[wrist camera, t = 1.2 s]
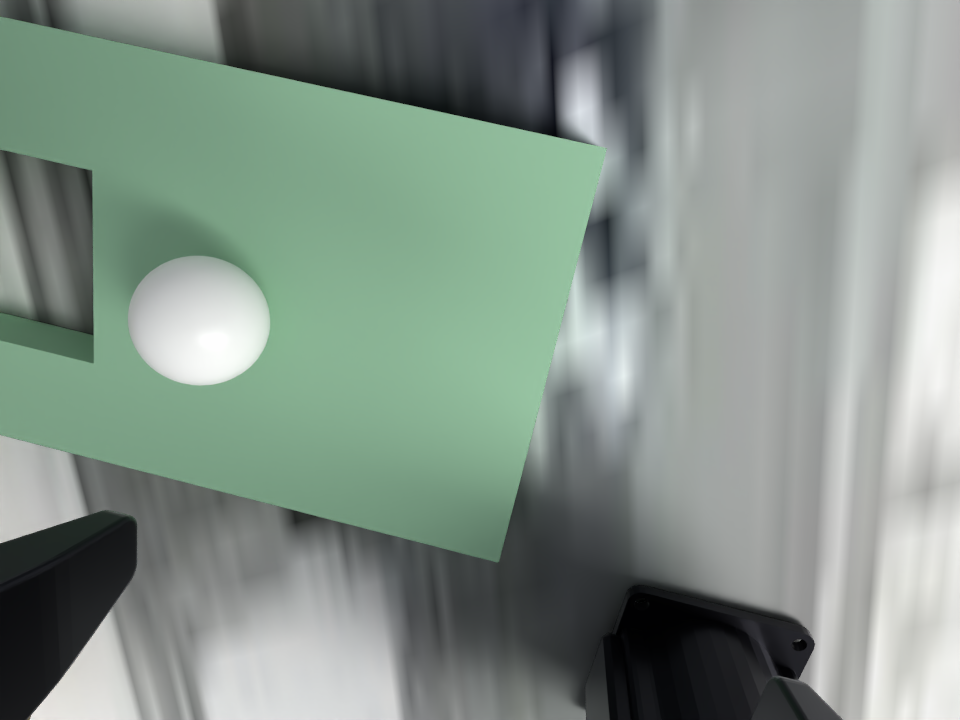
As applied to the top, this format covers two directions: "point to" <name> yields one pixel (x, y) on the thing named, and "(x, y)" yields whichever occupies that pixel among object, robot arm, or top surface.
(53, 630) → the robot arm
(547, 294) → the green slab with hole
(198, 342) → the ball
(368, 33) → the top surface
